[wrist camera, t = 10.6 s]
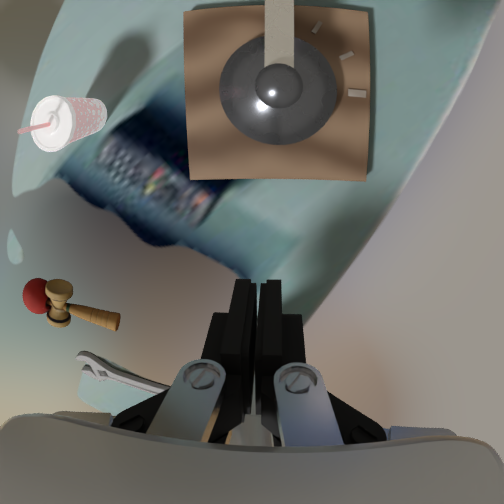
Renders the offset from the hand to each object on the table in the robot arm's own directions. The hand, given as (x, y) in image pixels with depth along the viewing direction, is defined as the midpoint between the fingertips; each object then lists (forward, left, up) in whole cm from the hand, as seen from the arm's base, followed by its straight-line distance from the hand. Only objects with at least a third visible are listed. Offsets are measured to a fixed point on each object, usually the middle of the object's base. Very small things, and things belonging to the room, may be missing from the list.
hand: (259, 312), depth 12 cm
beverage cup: (+8, +22, -27) cm, 36 cm away
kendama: (-20, +32, -27) cm, 47 cm away
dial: (+11, -1, -25) cm, 28 cm away
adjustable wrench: (-39, +25, -28) cm, 54 cm away
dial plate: (+9, -1, -27) cm, 28 cm away
